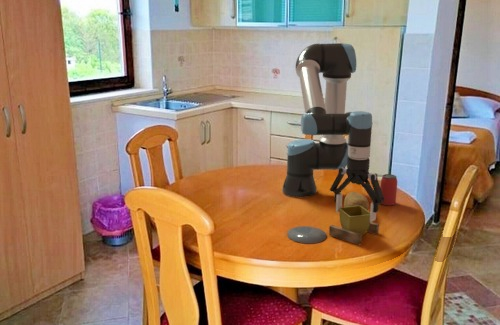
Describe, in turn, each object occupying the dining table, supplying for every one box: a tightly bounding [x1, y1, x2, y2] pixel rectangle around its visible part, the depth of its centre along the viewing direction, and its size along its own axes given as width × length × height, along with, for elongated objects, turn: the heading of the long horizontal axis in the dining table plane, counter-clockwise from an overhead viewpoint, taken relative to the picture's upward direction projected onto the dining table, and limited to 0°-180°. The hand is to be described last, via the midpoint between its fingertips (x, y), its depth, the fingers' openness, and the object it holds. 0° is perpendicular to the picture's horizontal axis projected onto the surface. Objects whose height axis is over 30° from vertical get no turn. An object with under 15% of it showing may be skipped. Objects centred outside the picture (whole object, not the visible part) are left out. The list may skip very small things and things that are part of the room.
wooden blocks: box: [328, 221, 380, 246], centre depth 176 cm, size 12×14×4 cm
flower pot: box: [338, 206, 371, 237], centre depth 176 cm, size 9×9×9 cm
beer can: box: [380, 173, 398, 207], centre depth 205 cm, size 7×7×12 cm
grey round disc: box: [286, 225, 327, 245], centre depth 176 cm, size 14×14×1 cm
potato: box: [343, 191, 370, 211], centre depth 195 cm, size 10×14×8 cm
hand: (355, 215), depth 174 cm, fingers open, 13 cm apart
